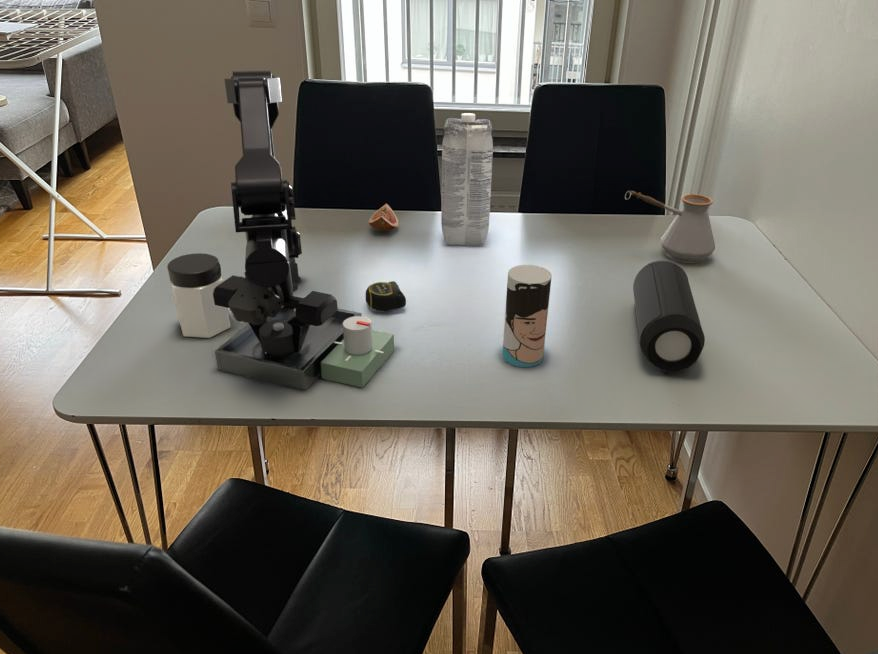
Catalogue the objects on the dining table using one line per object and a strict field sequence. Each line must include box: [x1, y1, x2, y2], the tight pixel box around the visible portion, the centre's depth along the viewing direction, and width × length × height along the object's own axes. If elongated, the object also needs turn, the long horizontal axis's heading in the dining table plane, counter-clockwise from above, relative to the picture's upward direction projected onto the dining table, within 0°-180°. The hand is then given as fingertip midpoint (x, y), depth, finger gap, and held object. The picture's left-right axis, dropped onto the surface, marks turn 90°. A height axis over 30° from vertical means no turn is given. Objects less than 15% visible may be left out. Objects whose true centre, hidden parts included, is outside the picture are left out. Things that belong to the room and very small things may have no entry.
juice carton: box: [440, 112, 494, 247], centre depth 151 cm, size 9×10×27 cm
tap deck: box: [321, 329, 395, 389], centre depth 113 cm, size 9×12×3 cm
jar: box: [166, 252, 231, 339], centre depth 119 cm, size 9×8×12 cm
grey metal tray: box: [214, 307, 363, 391], centre depth 116 cm, size 16×20×4 cm
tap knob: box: [343, 315, 373, 355], centre depth 110 cm, size 4×4×5 cm
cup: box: [501, 264, 553, 368], centre depth 113 cm, size 7×7×15 cm
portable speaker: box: [632, 259, 706, 373], centre depth 121 cm, size 26×10×10 cm, turn 172°
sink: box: [231, 308, 344, 368], centre depth 116 cm, size 14×18×2 cm
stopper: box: [259, 319, 295, 358], centre depth 112 cm, size 6×6×5 cm
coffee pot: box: [624, 190, 716, 264], centre depth 149 cm, size 21×12×15 cm, turn 97°
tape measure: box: [365, 280, 407, 312], centre depth 129 cm, size 7×7×4 cm
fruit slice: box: [368, 203, 400, 232], centre depth 160 cm, size 8×7×5 cm
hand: (281, 347), depth 112 cm, fingers closed on stopper, 6 cm apart
